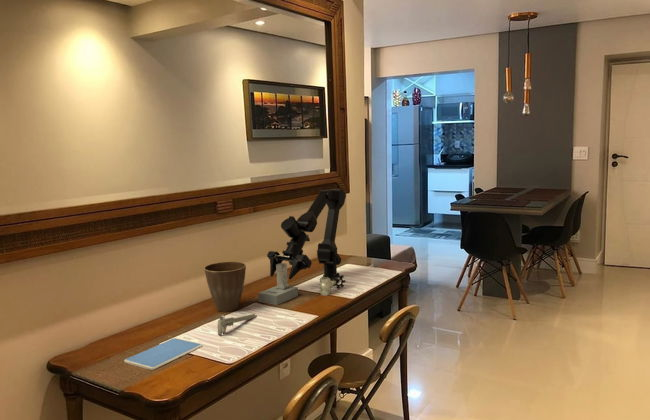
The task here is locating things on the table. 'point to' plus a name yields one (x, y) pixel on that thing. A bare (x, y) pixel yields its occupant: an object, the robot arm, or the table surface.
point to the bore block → (277, 295)
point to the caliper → (231, 322)
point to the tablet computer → (162, 353)
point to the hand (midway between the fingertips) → (280, 277)
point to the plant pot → (226, 284)
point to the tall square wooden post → (282, 276)
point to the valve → (330, 284)
